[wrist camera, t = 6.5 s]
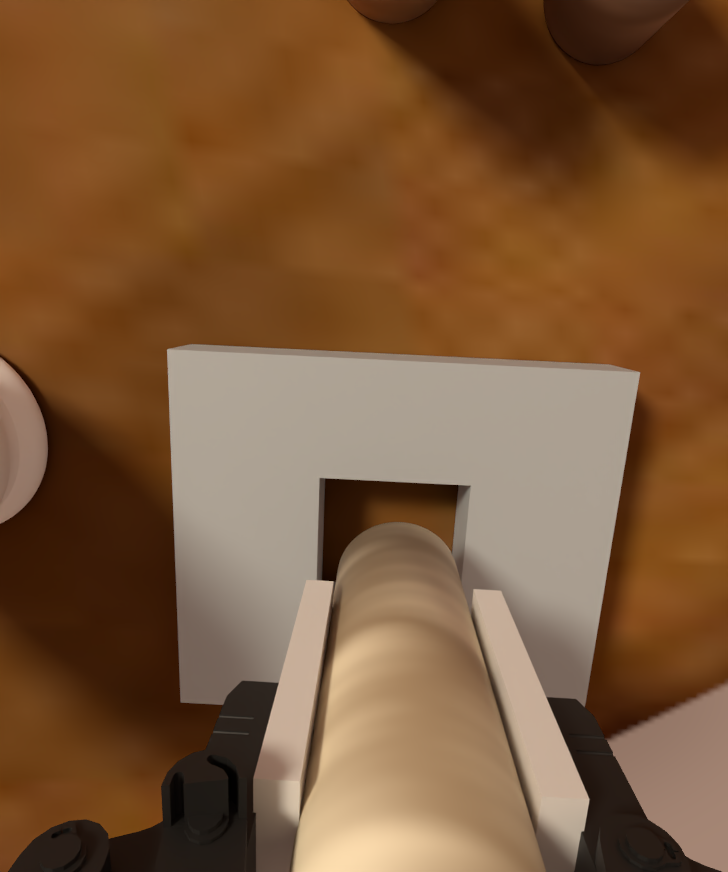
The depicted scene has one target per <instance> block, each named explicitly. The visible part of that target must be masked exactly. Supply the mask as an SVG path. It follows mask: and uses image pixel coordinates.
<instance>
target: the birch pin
mask: <svg viewBox="0 0 728 872" xmlns="http://www.w3.org/2000/svg"><path fill="white" fill-rule="evenodd" d="M289 872H546V869H545V866H544V863H543V859H542V856H541V852H540V849H539V846H538V842H537V839H536V835H535V832H534V829H533V825H532V822H531V818H530V815H529V812H528V808H527V805H526V801H525V798H524V794H523V791H522V788H521V784H520V781H519V777H518V774H517V771H516V767H515V764H514V760H513V757H512V754H511V750H510V747H509V743H508V740H507V737H506V733H505V730H504V726H503V723H502V720H501V716H500V713H499V709H498V706H497V703H496V699H495V696H494V692H493V689H492V686H491V682H490V679H489V675H488V672H487V669H486V665H485V662H484V658H483V655H482V652H481V648H480V645H479V641H478V638H477V635H476V631H475V628H474V624H473V621H472V617H471V614H470V611H469V607H468V604H467V600H466V597H465V594H464V590H463V587H462V583H461V580H460V577H459V573H458V570H457V566H456V563H455V560H454V558H453V555H452V553H451V551H450V550H449V548H448V547H447V545H446V544H445V543H444V542H443V541H442V540H441V539H440V538H439V537H438V536H437V535H435V534H434V533H432V532H431V531H429V530H427V529H425V528H423V527H421V526H418V525H414V524H410V523H403V522H391V523H384V524H380V525H377V526H374V527H372V528H369V529H367V530H366V531H364V532H362V533H361V534H359V535H358V536H357V537H356V538H355V539H354V540H352V541H351V543H350V544H349V545H348V546H347V548H346V549H345V551H344V553H343V554H342V557H341V559H340V562H339V566H338V571H337V577H336V583H335V590H334V596H333V609H332V615H331V621H330V628H329V634H328V641H327V647H326V653H325V660H324V666H323V672H322V679H321V685H320V692H319V698H318V704H317V711H316V717H315V724H314V730H313V736H312V743H311V749H310V756H309V762H308V768H307V775H306V781H305V788H304V794H303V800H302V807H301V813H300V820H299V823H298V827H297V831H296V834H295V839H294V846H293V852H292V858H291V864H290V871H289Z"/></svg>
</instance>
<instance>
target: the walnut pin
mask: <svg viewBox="0 0 728 872" xmlns="http://www.w3.org/2000/svg"><path fill="white" fill-rule="evenodd" d="M688 1H689V0H544V13H545V18H546V22H547V25H548V28H549V30H550V32H551V35H552V37H553V38H554V40H555V41H556V43H557V44H558V45H559V46H560V47H561V49H562V50H563V51H565V52H566V53H567V54H568V55H570V56H571V57H573V58H574V59H576V60H579V61H581V62H584V63H588V64H594V65H605V64H610V63H614V62H617V61H620V60H622V59H624V58H626V57H628V56H630V55H631V54H633V53H634V52H635V51H637V50H638V49H639V48H640V47H641V46H642V45H643V44H644V43H645V42H646V41H647V40H648V39H650V38H651V37H652V36H653V35H654V34H655V33H656V32H657V31H658V30H659V29H660V28H661V27H662V26H663V25H664V24H665V23H666V22H667V21H668V20H669V19H671V18H672V17H673V16H674V15H675V14H676V13H677V12H678V11H679V10H680V9H681V8H682V7H683V6H684V5H685V4H686V3H687V2H688Z"/></svg>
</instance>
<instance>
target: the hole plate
mask: <svg viewBox="0 0 728 872" xmlns="http://www.w3.org/2000/svg"><path fill="white" fill-rule="evenodd" d="M167 357H168V383H169V409H170V436H171V462H172V489H173V515H174V542H175V568H176V594H177V621H178V647H179V674H180V700H181V703H198V704H217V705H223V704H224V702H225V699H226V696H227V695H228V694H229V693H230V692H231V691H232V690H233V689H234V688H235V687H236V686H237V685H238V684H239V683H240V682H241V681H258V682H275V683H279V681H280V677H281V673H282V669H283V666H284V662H285V658H286V654H287V651H288V647H289V643H290V639H291V636H292V632H293V628H294V625H295V621H296V617H297V613H298V610H299V606H300V602H301V598H302V595H303V591H304V587H305V583H306V580H320V581H322V564H323V532H324V500H325V478H330V479H350V480H369V481H389V482H409V483H428V484H448V485H458V496H457V507H456V518H455V529H454V540H453V551H452V555H453V558H454V560H455V563H456V566H457V570H458V573H459V577H460V580H461V583H462V587H463V590H464V594H465V597H466V600H467V604H468V607H469V611H470V614H471V609H472V599H473V589H480V590H498V591H501V592H502V594H503V597H504V599H505V601H506V604H507V606H508V608H509V611H510V613H511V616H512V618H513V620H514V623H515V625H516V627H517V630H518V632H519V634H520V637H521V639H522V642H523V644H524V646H525V649H526V651H527V653H528V656H529V658H530V660H531V663H532V665H533V667H534V670H535V672H536V675H537V677H538V679H539V682H540V684H541V686H542V689H543V691H544V693H545V696H546V697H554V698H571V699H577V700H578V701H579V702H580V703H581V704H582V705H583V706H584V707H585V703H586V697H587V691H588V685H589V679H590V673H591V667H592V661H593V655H594V649H595V643H596V637H597V631H598V625H599V618H600V612H601V606H602V600H603V594H604V588H605V582H606V576H607V570H608V564H609V558H610V552H611V546H612V540H613V534H614V528H615V522H616V515H617V509H618V503H619V497H620V491H621V485H622V479H623V473H624V467H625V461H626V455H627V449H628V443H629V437H630V431H631V425H632V419H633V412H634V406H635V400H636V394H637V388H638V382H639V376H640V372H637V371H633V370H629V369H625V368H621V367H617V366H613V365H608V364H588V363H567V362H547V361H526V360H505V359H485V358H464V357H444V356H423V355H403V354H382V353H361V352H341V351H320V350H300V349H279V348H258V347H238V346H217V345H197V344H190V345H186V346H181V347H176V348H171V349H167ZM335 583H336V582H334V584H333V596H334V590H335Z"/></svg>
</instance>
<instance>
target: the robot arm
mask: <svg viewBox="0 0 728 872" xmlns="http://www.w3.org/2000/svg"><path fill="white" fill-rule="evenodd" d="M333 584H334V581H320V580H306V583H305V587H304V591H303V595H302V598H301V602H300V606H299V610H298V613H297V617H296V621H295V625H294V628H293V632H292V636H291V639H290V643H289V647H288V651H287V654H286V658H285V662H284V666H283V669H282V673H281V677H280V681H279V683H275V682H258V681H241V682H240V683H239V684H238V685H237V686H236V687H235V688H234V689H233V690H232V691H231V692H230V693H229V694H228V695H227V696H226V699H225V702H224V704H223V707H222V709H221V712H220V714H219V718H218V719H217V722H216V724H215V727H214V730H213V734H212V735H211V737H210V740H209V742H208V745H207V747H206V750H203V751H199V752H194V753H192V754H190V755H188V756H187V757H185V758H183V759H181V760H179V761H178V762H177V763H176V764H175V765H174V766H173V767H172V768H171V769H170V770H169V771H168V772H167V775H166V777H165V779H164V781H163V783H162V786H161V790H162V810H163V821H162V822H161V823H159V824H157V825H155V826H153V827H151V828H148V829H145V830H142V831H139V832H135V833H131V834H127V835H123V836H119V837H115V838H110V839H108V833H107V832H106V831H105V830H104V828H103V827H102V826H101V825H100V824H98V823H95V822H92V821H89V820H74V821H68V822H65V823H63V824H60V825H57V826H54V827H52V828H50V829H49V830H47V831H46V832H44V833H43V834H41V835H40V836H38V837H37V838H35V839H34V840H33V841H32V842H31V843H30V844H29V845H28V847H27V848H26V849H25V850H24V851H23V852H22V853H21V854H20V855H19V857H18V858H17V860H16V861H15V863H14V864H13V865H12V867H11V868H10V870H9V871H8V872H289V871H290V864H291V858H292V852H293V846H294V839H295V834H296V831H297V827H298V823H299V820H300V813H301V807H302V800H303V794H304V788H305V781H306V775H307V768H308V762H309V756H310V749H311V743H312V736H313V730H314V724H315V717H316V711H317V704H318V698H319V692H320V685H321V679H322V672H323V666H324V660H325V653H326V647H327V641H328V634H329V628H330V621H331V615H332V609H333ZM471 617H472V621H473V624H474V628H475V631H476V635H477V638H478V641H479V645H480V648H481V652H482V655H483V658H484V662H485V665H486V669H487V672H488V675H489V679H490V682H491V686H492V689H493V692H494V696H495V699H496V703H497V706H498V709H499V713H500V716H501V720H502V723H503V726H504V730H505V733H506V737H507V740H508V743H509V747H510V750H511V754H512V757H513V760H514V764H515V767H516V771H517V774H518V777H519V781H520V784H521V788H522V791H523V794H524V798H525V801H526V805H527V808H528V812H529V815H530V818H531V822H532V825H533V829H534V832H535V835H536V839H537V842H538V846H539V849H540V852H541V856H542V859H543V863H544V866H545V869H546V872H721V871H718V870H715V869H713V868H710V867H707V866H704V865H702V864H700V863H698V862H695V861H693V860H691V859H689V858H688V857H686V856H685V855H684V853H683V851H682V849H681V847H680V846H679V845H678V843H677V842H676V841H675V840H674V839H673V838H672V837H671V836H670V835H669V834H668V833H667V832H666V831H665V830H663V829H662V828H660V827H659V826H657V825H655V824H654V823H652V822H651V821H649V820H648V819H647V817H646V815H645V813H644V812H643V809H642V807H641V806H640V804H639V802H638V800H637V798H636V796H635V794H634V792H633V790H632V788H631V786H630V785H629V783H628V781H627V779H626V777H625V775H624V773H623V772H622V769H621V767H620V765H619V763H618V761H617V760H616V758H615V757H614V756H613V752H612V750H611V748H610V746H609V744H608V742H607V740H605V739H604V735H603V733H602V731H601V729H600V727H599V725H598V723H597V721H596V719H595V717H594V716H593V715H592V714H591V713H590V712H589V711H588V710H587V709H586V708H585V707H584V706H583V705H582V704H581V703H580V702H579V701H578V700H577V699H571V698H554V697H546V696H545V693H544V691H543V689H542V686H541V684H540V682H539V679H538V677H537V675H536V672H535V670H534V667H533V665H532V663H531V660H530V658H529V656H528V653H527V651H526V649H525V646H524V644H523V642H522V639H521V637H520V634H519V632H518V630H517V627H516V625H515V623H514V620H513V618H512V616H511V613H510V611H509V608H508V606H507V604H506V601H505V599H504V597H503V594H502V592H501V591H498V590H480V589H473V599H472V609H471Z"/></svg>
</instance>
